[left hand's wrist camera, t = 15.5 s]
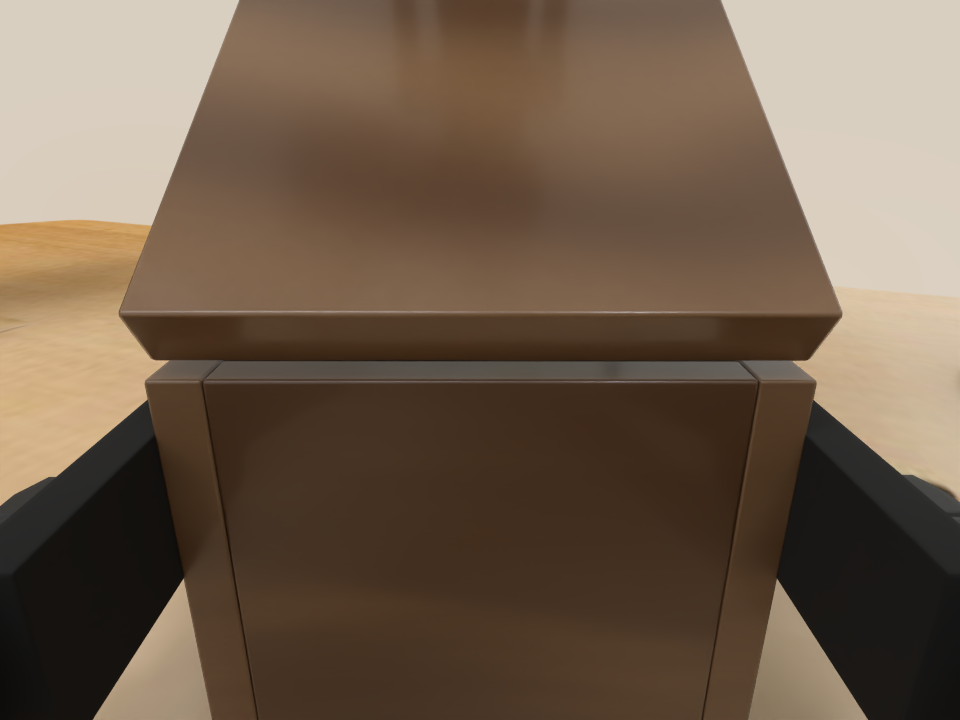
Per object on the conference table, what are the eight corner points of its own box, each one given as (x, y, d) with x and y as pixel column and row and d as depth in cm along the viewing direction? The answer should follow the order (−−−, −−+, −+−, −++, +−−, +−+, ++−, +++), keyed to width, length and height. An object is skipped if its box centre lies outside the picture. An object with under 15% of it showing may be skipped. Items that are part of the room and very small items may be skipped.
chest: (363, 425, 28) (348, 214, 25) (595, 425, 28) (611, 214, 25) (226, 798, 13) (142, 380, 10) (733, 797, 13) (818, 380, 10)
